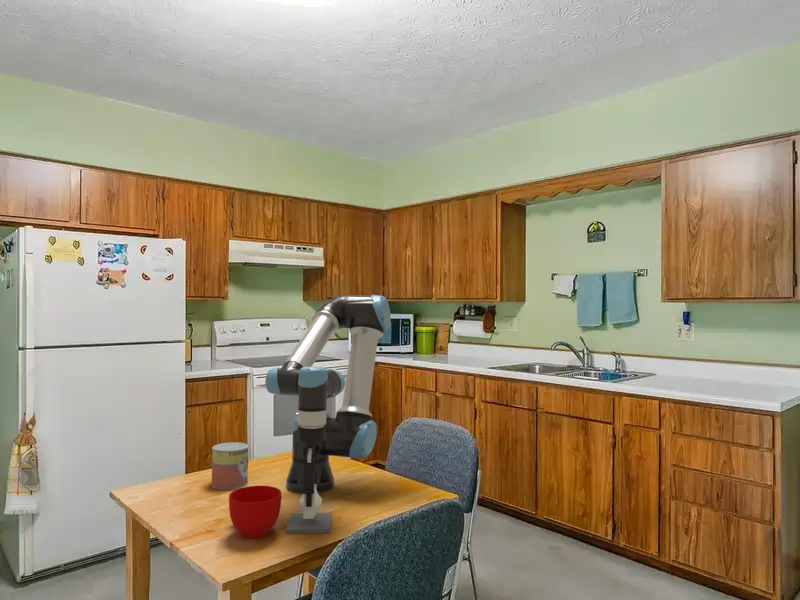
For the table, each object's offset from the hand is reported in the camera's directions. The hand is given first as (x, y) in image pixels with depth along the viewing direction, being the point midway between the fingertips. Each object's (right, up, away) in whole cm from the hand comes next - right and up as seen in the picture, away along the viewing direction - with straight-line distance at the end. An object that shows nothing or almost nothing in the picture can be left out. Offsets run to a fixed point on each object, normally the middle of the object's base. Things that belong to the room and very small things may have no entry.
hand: (309, 513), depth 144 cm
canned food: (-31, -3, +32) cm, 45 cm away
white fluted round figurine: (0, 0, 0) cm, 1 cm away
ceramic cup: (-14, -3, -5) cm, 15 cm away
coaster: (0, -3, 0) cm, 3 cm away
